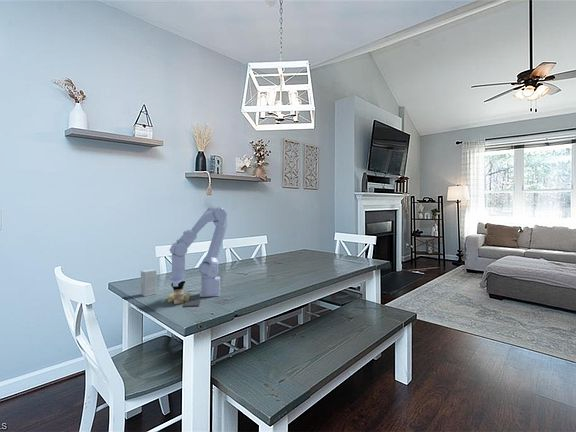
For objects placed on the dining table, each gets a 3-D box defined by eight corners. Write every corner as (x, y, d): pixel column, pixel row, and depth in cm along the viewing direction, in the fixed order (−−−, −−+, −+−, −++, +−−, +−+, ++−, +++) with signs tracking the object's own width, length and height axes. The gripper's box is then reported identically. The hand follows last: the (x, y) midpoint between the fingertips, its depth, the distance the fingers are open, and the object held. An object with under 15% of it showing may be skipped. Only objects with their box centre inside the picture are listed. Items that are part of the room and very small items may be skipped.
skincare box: (152, 292, 149) (152, 268, 148) (156, 293, 146) (156, 270, 145) (140, 294, 144) (140, 270, 143) (144, 296, 141) (144, 272, 141)
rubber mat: (200, 301, 136) (200, 300, 136) (198, 306, 129) (198, 304, 129) (186, 302, 134) (186, 300, 134) (183, 306, 128) (183, 305, 128)
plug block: (183, 298, 136) (183, 288, 135) (183, 303, 133) (183, 293, 131) (174, 298, 135) (174, 289, 134) (174, 304, 132) (173, 294, 130)
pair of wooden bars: (189, 297, 142) (189, 292, 142) (187, 301, 136) (187, 296, 136) (170, 297, 140) (170, 293, 140) (167, 301, 134) (167, 297, 134)
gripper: (172, 265, 142) (172, 293, 143) (165, 272, 128) (165, 303, 128) (187, 265, 143) (187, 292, 144) (182, 272, 129) (182, 302, 130)
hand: (178, 297), depth 136 cm, fingers closed
